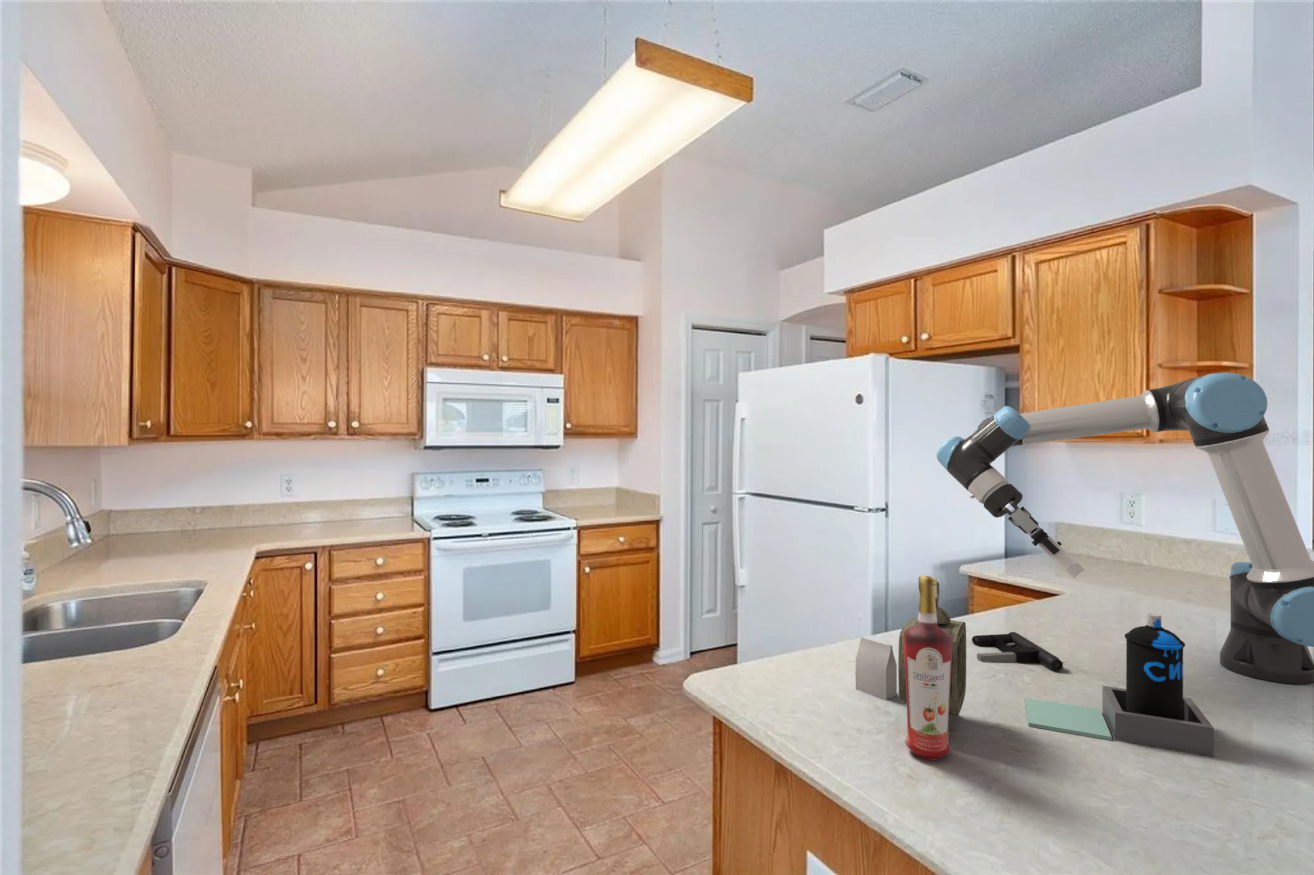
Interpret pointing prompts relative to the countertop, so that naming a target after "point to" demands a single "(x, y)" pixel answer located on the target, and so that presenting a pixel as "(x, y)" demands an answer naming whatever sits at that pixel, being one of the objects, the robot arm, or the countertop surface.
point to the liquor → (927, 678)
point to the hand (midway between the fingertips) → (1075, 570)
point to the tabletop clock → (958, 658)
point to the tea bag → (876, 669)
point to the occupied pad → (1066, 718)
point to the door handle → (1016, 650)
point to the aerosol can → (1154, 670)
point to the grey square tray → (1158, 725)
